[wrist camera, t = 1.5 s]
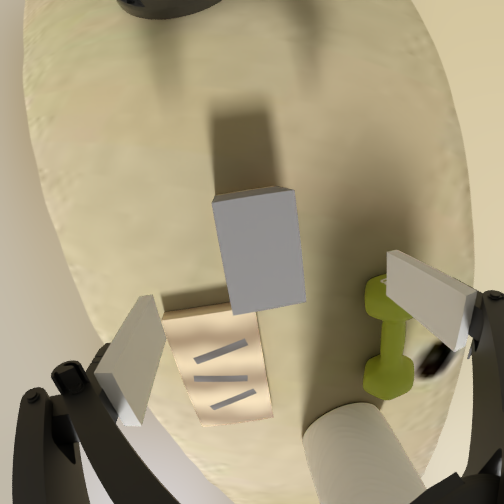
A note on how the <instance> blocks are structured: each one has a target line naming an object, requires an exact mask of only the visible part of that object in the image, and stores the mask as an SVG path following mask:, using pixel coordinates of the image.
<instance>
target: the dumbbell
mask: <svg viewBox="0 0 504 504" xmlns="http://www.w3.org/2000/svg"><path fill="white" fill-rule="evenodd" d="M386 284H387V274H383V275H380V276H377V277H374V278H372V279H370V280H369V281H368V282H367V284H366V288H365V309H366V312H367V314H368V315H370V316H371V317H374V318H376V319H380V320H383V323H382V330H381V347H380V353H381V355H378V356H375V357H373V358H371V359H369V360H368V361H367V363H366V366H365V370H364V377H363V389H364V390H365V391H366V392H367V393H369V394H371V395H373V396H375V397H377V398H380V399H382V400H391V399H394V398H396V397H398V396H401V395H403V394H405V393H407V392H408V391H409V390H410V389H411V388H412V386H413V381H414V364H413V361H412V360H411V359H410V358H408V357H406V356H404V355H402V354H403V349H404V342H405V332H406V324H405V321H406V320H409V319H411V318H414V317H412V316H411V315H410V314H409V313H408V312H406V311H405V310H404V309H403V308H401V307H400V306H399V305H398V304H396V303H395V302H394V301H393V300H391V299H390V298H389V297H388V296H386Z"/></svg>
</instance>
